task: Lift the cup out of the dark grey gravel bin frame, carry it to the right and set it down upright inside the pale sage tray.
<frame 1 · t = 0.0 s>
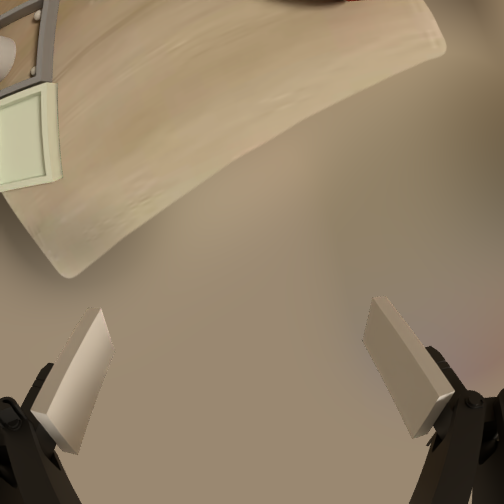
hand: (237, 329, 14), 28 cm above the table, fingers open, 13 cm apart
sage tray: (23, 139, 33), on the table
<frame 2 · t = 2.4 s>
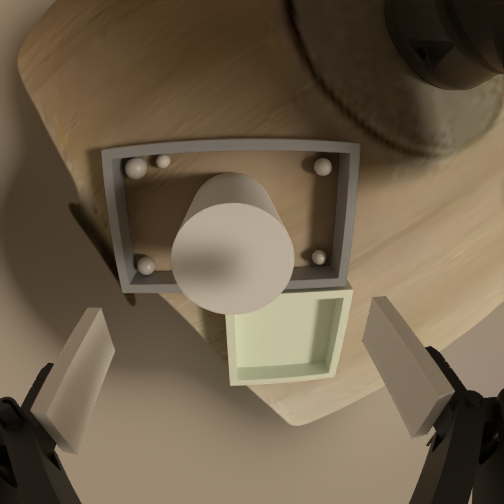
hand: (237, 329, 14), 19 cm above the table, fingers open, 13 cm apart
cup: (231, 211, 31), resting in gravel bin
gravel bin: (231, 211, 31), on the table
sage tray: (283, 328, 37), on the table
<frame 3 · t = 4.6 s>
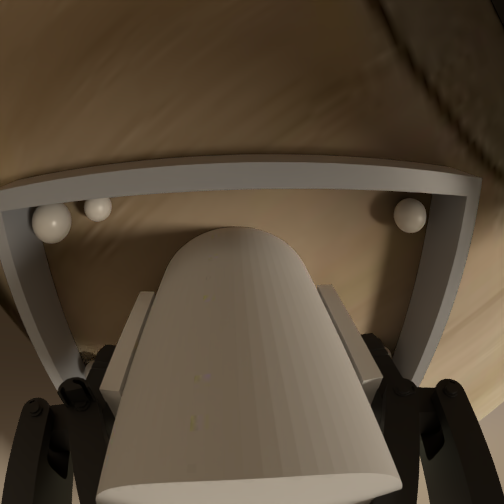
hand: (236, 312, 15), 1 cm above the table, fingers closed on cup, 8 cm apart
cup: (236, 296, 17), resting in gravel bin, touching gripper
gravel bin: (236, 297, 16), on the table
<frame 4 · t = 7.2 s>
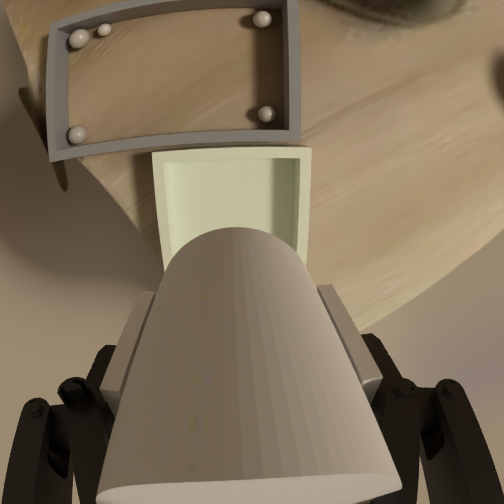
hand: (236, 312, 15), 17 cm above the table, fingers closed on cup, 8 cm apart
cup: (236, 296, 17), point 15 cm above the table, touching gripper
gravel bin: (167, 69, 24), on the table
sage tray: (233, 214, 31), on the table
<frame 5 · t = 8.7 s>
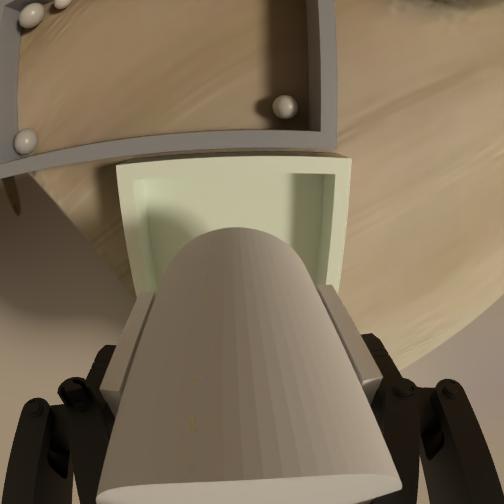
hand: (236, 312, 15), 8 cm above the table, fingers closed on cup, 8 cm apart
cup: (236, 297, 17), point 6 cm above the table, touching gripper
gravel bin: (142, 46, 16), on the table
sage tray: (235, 249, 22), on the table
when the fingers open (4 cm above the table, at t = 9.9 s): cup drops 2 cm, resting on sage tray.
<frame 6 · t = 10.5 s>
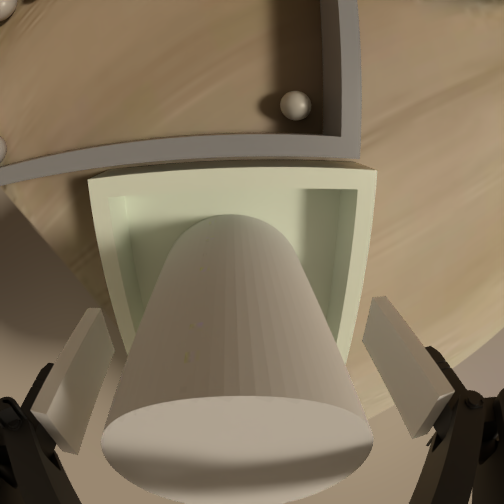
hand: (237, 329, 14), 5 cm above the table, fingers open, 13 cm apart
cup: (232, 278, 18), resting on sage tray
gravel bin: (122, 34, 12), on the table
sage tray: (235, 276, 19), on the table
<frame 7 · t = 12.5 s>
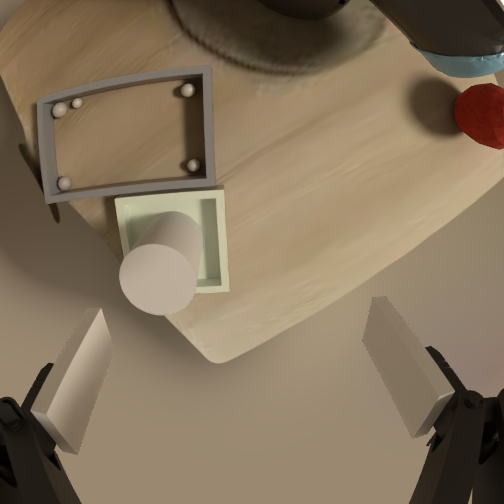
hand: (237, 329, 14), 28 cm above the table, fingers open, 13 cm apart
cup: (174, 239, 41), resting on sage tray
apple: (461, 113, 37), on the table
gravel bin: (123, 134, 35), on the table
sage tray: (175, 238, 41), on the table
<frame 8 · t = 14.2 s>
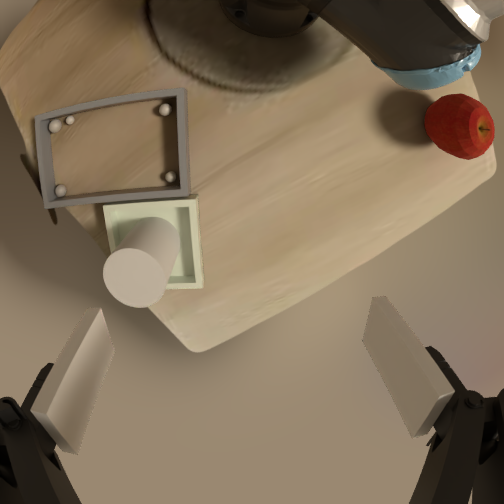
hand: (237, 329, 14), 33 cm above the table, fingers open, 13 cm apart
cup: (155, 241, 46), resting on sage tray
apple: (434, 123, 41), on the table
gravel bin: (110, 148, 40), on the table
sage tray: (156, 240, 46), on the table
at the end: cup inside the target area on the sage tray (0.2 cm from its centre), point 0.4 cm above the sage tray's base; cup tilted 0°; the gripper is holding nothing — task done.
